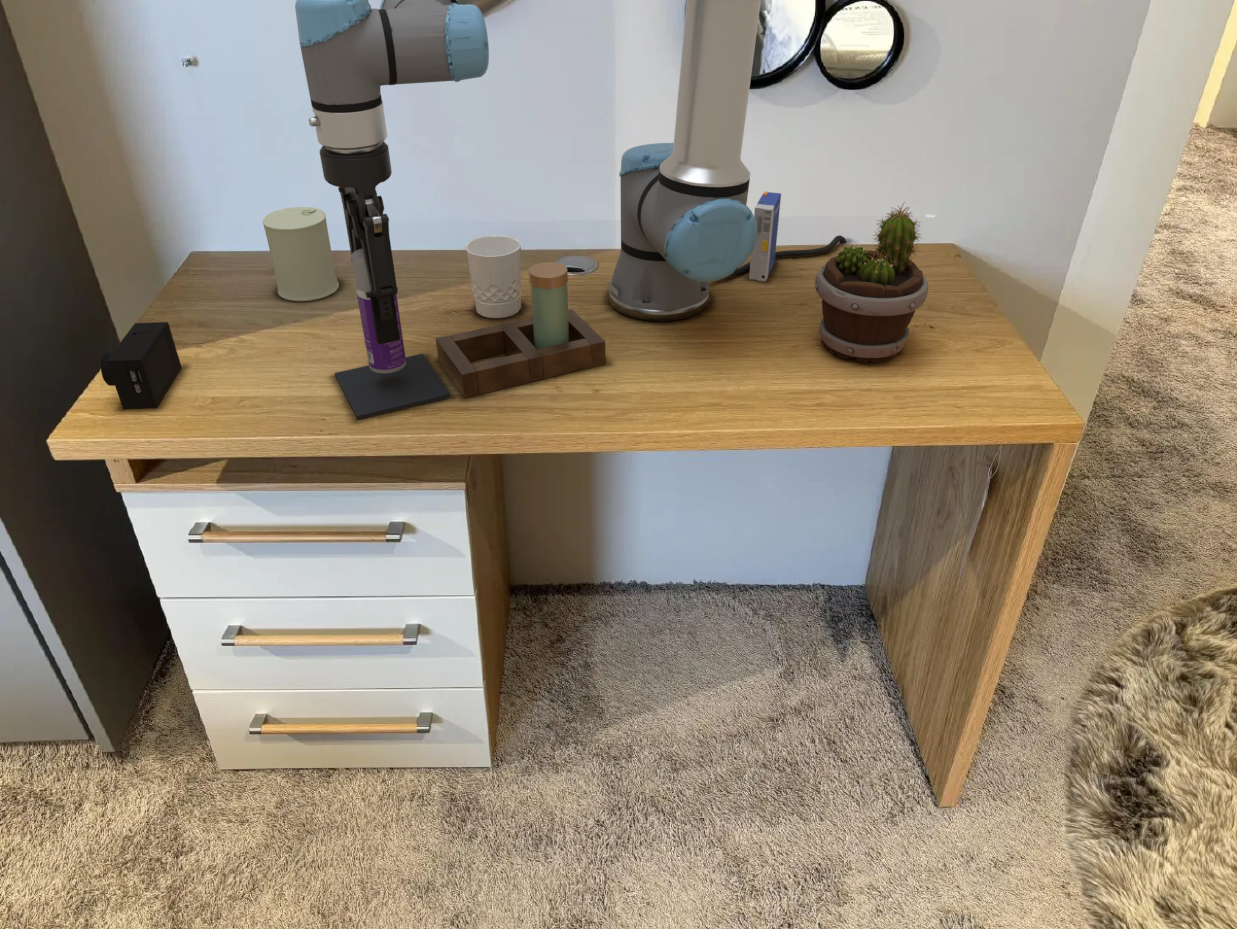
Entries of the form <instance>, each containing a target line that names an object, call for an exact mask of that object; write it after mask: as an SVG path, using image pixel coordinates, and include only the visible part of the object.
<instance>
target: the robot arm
mask: <svg viewBox="0 0 1237 929" xmlns="http://www.w3.org/2000/svg"><path fill="white" fill-rule="evenodd" d="M512 1H513V0H381V2H380V6H379V8H372V5H371V4H370V2H369V0H296V1H295V4H294V9H295V17H296V25H297V31H298V42H299V47H300V53H301V57H302V62H303V66H304V68H303V69H304V72H305V78H306V84H307V87H308V94H309V99H310V104H311V108H312V112H313V114H314V116H312V117H309V118H308V125H309V126H310V127H314V128H315V131H316V138H317V142H318V143H319V144H320V145H321V147H320V149H319V156H320V162H321V168H322V175H323V178H324V180H325V181H326V182H327V183H328V184H329V185H331V186H334V187H336V188H337V187H338V188H337V189H338V193H339V194H340V200H341V204H342V210H343V215H344V221H345V227H346V232H347V233H346V234H347V239H348V245H349V250H350V251H349V252H350V257H351V258H350V260H351V261H352V256H351V255H352V253H353V252H355V251H356V250H359V249H363V253H364V258H365V263H366V268H367V273H368V278H369V283H370V287H371V290H370V292H365V294H366V297H367V298H370V302H371V308H372V314H373V320H374V326H375V332H376V339H377V343H378V344H383V343H388V342H393V341H398V340H400V335H399V328H398V321H397V315H396V308H395V301H394V294H398V291H399V289H398V286H397V279H396V272H395V265H394V259H393V251H392V244H391V237H390V225H389V224H390V218H389V216H388V214H387V213H384V211H385V204H384V200H383V197H382V196H381V195H378V193H377V188H376V187H377V186H378V185H379V184H381V183H384V182H386V181H388V180H389V179H390V177H391V176H392V165H391V163H392V162H391V158H390V150H389V145H388V144H387V142H386V140H387V138H388V130H387V124H386V118H385V109H384V101H383V99H382V94H381V86H396V85H408V84H410V85H412V84H423V83H440V82H442V83H443V82H455V83H459V82H460V81H465V80H471V79H477V78H482V77H483V76H484V75H485V74H486V73H487V71H488V68H489V62H490V49H489V48H490V46H489V37H488V36H489V35H488V30H487V25H486V21H485V19H487V18H488V17H489V16H491V15H493V14H494V13H495V12H497V11H499V10H500V9H501V8H503V7H504V6H506V5H508V4H509V3H511V2H512ZM761 2H762V0H685V14H684V23H683V24H684V25H683V35H682V36H683V37H682V47H681V49H682V50H681V57H680V67H679V68H680V69H679V80H678V81H679V82H678V92H677V100H676V101H677V102H676V114H675V125H674V136H673V142H659V143H657V142H656V143H647V144H641V145H636V146H633V147H630V148H629V149H626V150H625V151H624V152H623V154H622V155H621V161H620V162H621V163H620V171H619V174H618V176H619V177H620V252H619V256H618V258H617V261H616V264H615V267H614V270H613V273H612V276H611V280H610V281H607V288H608V301H609V304H610V306H611V307H612V308H613V309H614V310H616V312H619V313H620V314H622V315H625V316H627V317H630V318H634V319H637V320H642V321H643V320H644V321H651V322H669V321H671V322H672V321H679V320H683V319H687V318H690V317H694V316H696V315H698V314H700V313H702V312H703V311H704V310H705V309H706V308H707V307H708V306H709V303H710V293H711V292H710V291H711V288H710V284H709V283H710V282H717V281H720V280H722V279H725V278H727V277H734V276H738V275H741V274H743V273H746V272H748V271H750V261H749V262H747V260H748V259H749V258H750V257H751V253H752V251H753V249H754V246H755V243H756V239H757V224H756V221H755V218H754V214H753V211H752V210H751V209H750V208H749V206H748V205H747V204H748V203H747V202H748V197H749V196H748V195H749V187H750V180H751V172H750V170H749V169H748V167H747V166H746V165H745V164H744V162H742V161H743V160H742V159H741V158H742V148H743V140H744V134H745V126H746V119H747V118H746V117H747V110H748V104H749V96H750V95H749V94H750V87H751V79H752V72H753V64H754V58H755V57H754V56H755V48H756V41H757V35H758V34H757V33H758V27H759V26H758V25H759V18H760V10H761ZM847 242H848V241H847V240H846V238H845V237H844V236H843V235H836V236H834V238H833V239H832V240H831V241H830V242H829V243H828V244H827V245H825V246H821V247H818V248H809V249H808V248H807V249H792V250H790V249H789V250H780V251H779V250H778V251H776V252H775V259H777V258H778V259H779V258H786V257H787V258H789V257H806V256H815V255H816V256H817V255H822V254H825V253H828V252H831V251H832V250H833V249H834V248H835V247H836V245H837V244H838V243H840V244H843V243H844V244H848V243H847ZM746 262H747V263H746ZM745 263H746V264H745Z"/></svg>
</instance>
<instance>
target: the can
mask: <svg viewBox="0 0 1237 929" xmlns="http://www.w3.org/2000/svg"><path fill="white" fill-rule="evenodd" d="M262 225H263V228H264V232H265V235H266V236H265V237H266V241H267V245H268V249H269V253H270V258H271V262H272V267H273V272H274V276H275V281H276V286H277V294H278V296H279V297H281V298H283V299H284V300H286V301H290V302H291V301H292V302H311V301H318V300H321V299H325V298H326V297H329V296H331V295H333V294H334V293H336V292H337V290H338V289H339V287H340V283H339V281H338V278H337V272H336V268H335V262H334V258H333V253H332V247H331V241H330V235H329V229H328V223H327V215H326V213H325V211H323V210H322V209H319V208H316V207H309V206H295V207H287V208H282V209H278V210H275V211H272V212H270V213H268V214H266V215H265V216H264V217H263V219H262Z"/></svg>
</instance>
